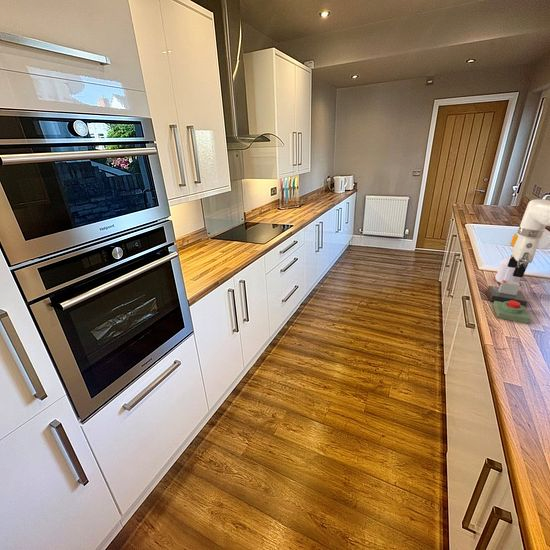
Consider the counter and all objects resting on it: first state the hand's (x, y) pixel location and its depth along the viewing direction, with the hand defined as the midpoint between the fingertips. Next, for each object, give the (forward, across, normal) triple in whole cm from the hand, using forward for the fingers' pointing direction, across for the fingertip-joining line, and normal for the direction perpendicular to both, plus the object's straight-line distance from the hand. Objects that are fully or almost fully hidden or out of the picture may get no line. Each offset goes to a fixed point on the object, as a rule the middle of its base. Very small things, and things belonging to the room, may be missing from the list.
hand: (514, 271), depth 120 cm
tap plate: (+13, 0, 0) cm, 13 cm away
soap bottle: (+13, +20, -4) cm, 24 cm away
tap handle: (+10, 0, 0) cm, 10 cm away
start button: (+9, -13, 0) cm, 16 cm away
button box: (+13, -13, 0) cm, 19 cm away
